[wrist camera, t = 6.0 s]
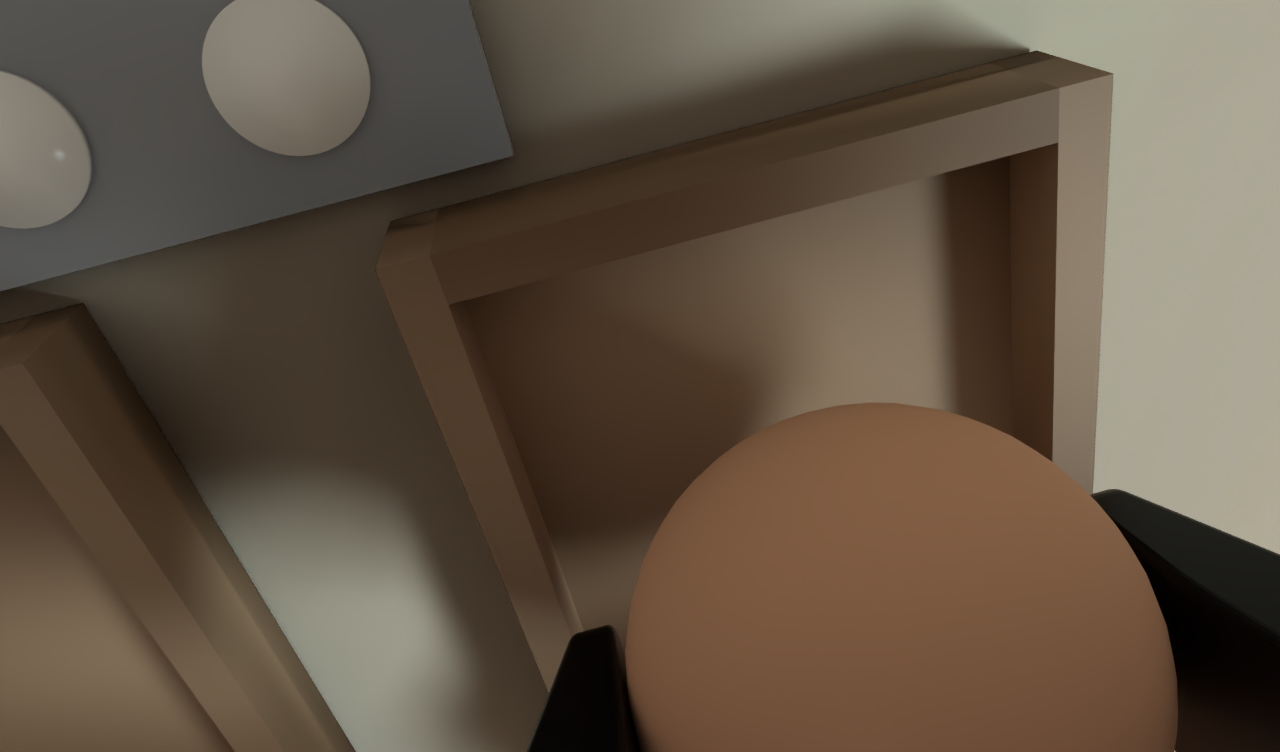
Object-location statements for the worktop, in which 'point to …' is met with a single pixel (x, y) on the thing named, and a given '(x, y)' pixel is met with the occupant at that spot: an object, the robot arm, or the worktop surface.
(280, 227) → the worktop surface
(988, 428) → the ball
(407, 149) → the card
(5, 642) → the trough
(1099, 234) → the trough
